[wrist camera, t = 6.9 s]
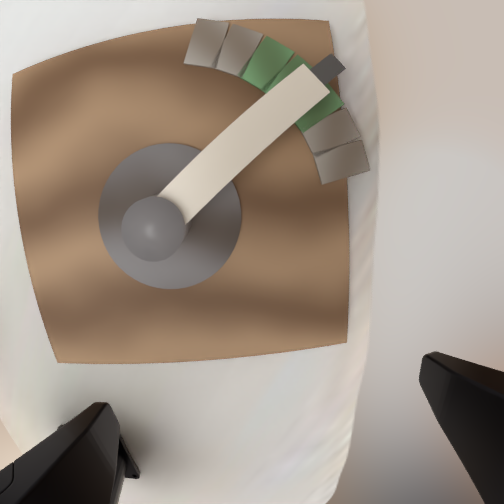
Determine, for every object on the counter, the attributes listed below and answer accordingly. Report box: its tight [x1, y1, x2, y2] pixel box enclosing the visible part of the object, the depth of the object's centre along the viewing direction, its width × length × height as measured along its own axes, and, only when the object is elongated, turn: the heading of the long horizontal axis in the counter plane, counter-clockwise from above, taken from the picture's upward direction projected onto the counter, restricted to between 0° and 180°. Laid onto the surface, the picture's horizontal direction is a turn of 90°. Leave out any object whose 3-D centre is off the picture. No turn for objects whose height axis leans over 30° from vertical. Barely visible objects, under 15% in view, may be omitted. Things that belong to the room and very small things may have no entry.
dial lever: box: [121, 53, 346, 262], centre depth 14 cm, size 13×3×3 cm, turn 133°
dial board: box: [11, 18, 370, 364], centre depth 17 cm, size 20×21×1 cm
